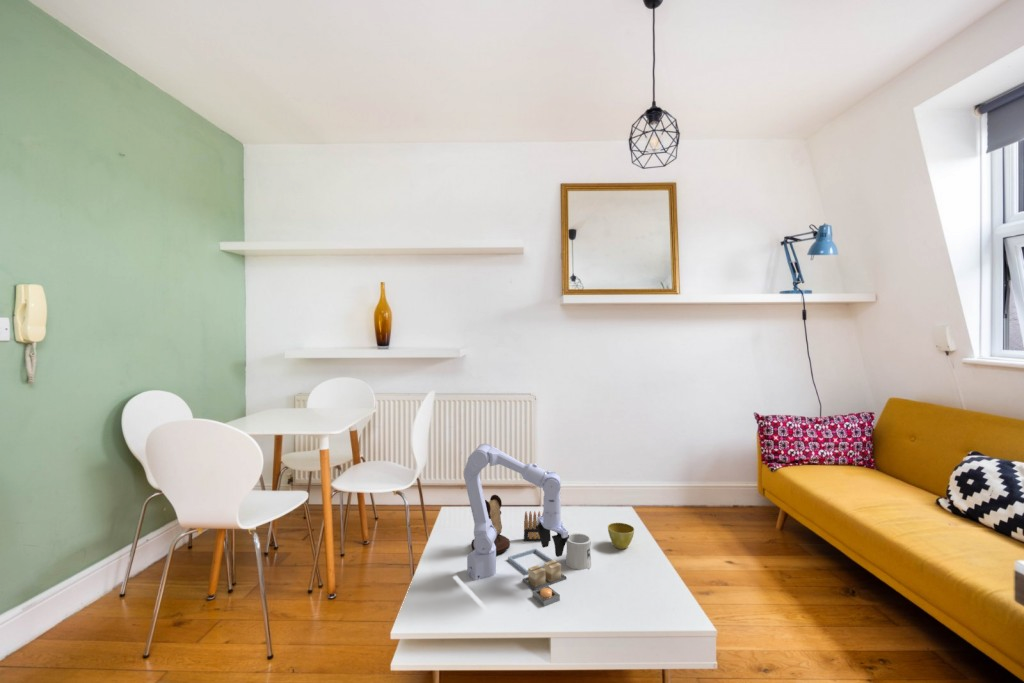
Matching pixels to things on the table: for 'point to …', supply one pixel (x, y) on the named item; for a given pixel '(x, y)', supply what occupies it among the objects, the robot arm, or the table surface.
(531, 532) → the ammunition clip
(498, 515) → the scroll
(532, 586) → the plate
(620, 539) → the flower pot
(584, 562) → the mug
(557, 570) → the tan cardboard block
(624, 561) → the table surface
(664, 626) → the table surface
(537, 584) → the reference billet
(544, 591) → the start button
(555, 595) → the button housing
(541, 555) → the light blue square tray
